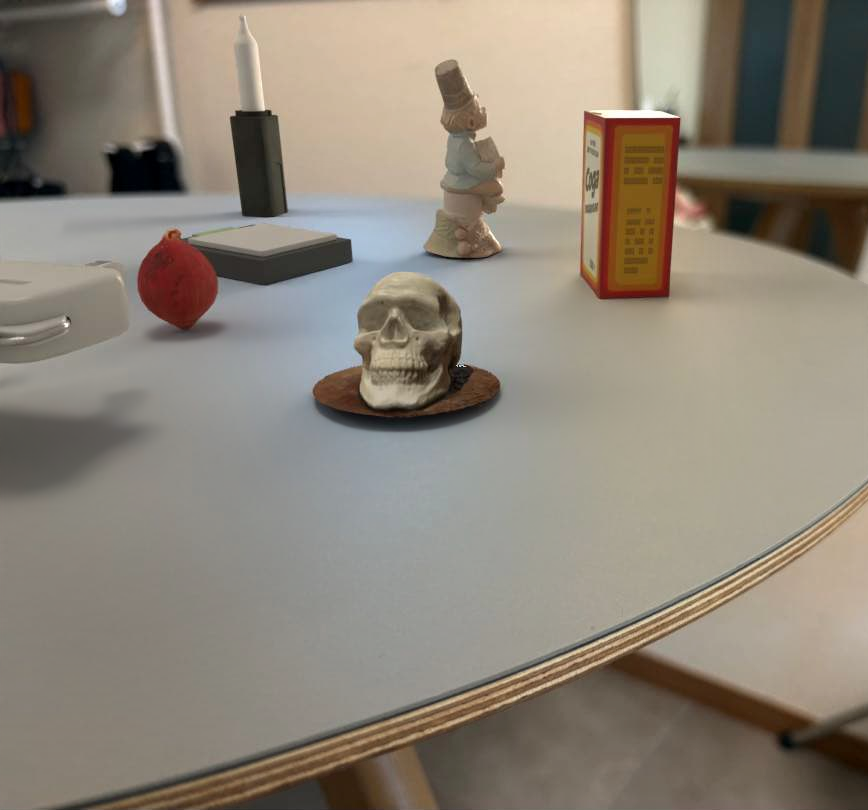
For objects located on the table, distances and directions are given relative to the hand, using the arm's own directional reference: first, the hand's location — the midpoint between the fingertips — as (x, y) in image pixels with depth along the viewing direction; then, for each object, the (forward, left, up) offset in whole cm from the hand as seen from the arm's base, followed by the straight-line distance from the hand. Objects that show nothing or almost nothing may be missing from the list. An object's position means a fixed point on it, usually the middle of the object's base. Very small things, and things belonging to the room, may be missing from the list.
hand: (53, 268), depth 55 cm
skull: (+21, +10, -8) cm, 24 cm away
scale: (-15, +30, -8) cm, 35 cm away
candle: (-39, +51, -8) cm, 65 cm away
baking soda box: (+20, +43, -8) cm, 48 cm away
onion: (-3, +11, -8) cm, 14 cm away
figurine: (-1, +46, -8) cm, 47 cm away
